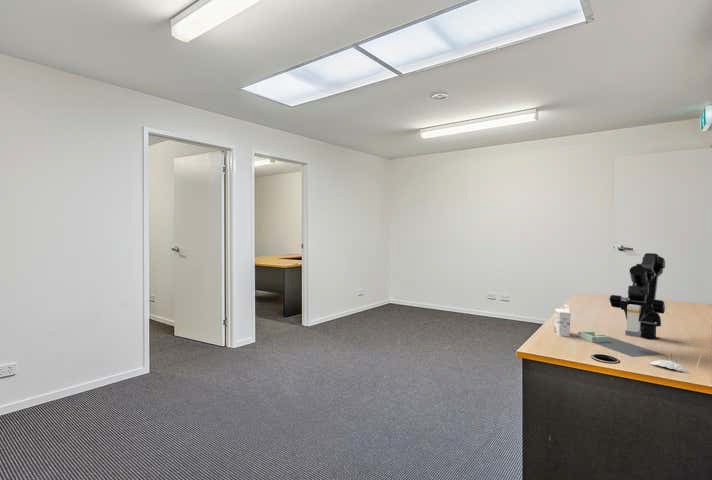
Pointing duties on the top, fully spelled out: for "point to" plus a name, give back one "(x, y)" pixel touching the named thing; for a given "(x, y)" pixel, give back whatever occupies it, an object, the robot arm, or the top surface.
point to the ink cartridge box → (562, 321)
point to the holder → (592, 337)
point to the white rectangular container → (633, 320)
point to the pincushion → (670, 365)
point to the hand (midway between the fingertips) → (632, 319)
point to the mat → (626, 348)
